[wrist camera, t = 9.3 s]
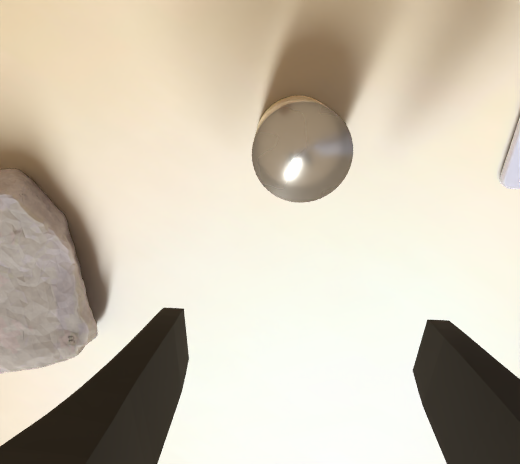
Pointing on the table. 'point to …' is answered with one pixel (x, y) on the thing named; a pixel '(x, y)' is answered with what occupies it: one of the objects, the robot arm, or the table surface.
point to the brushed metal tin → (301, 149)
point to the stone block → (38, 280)
